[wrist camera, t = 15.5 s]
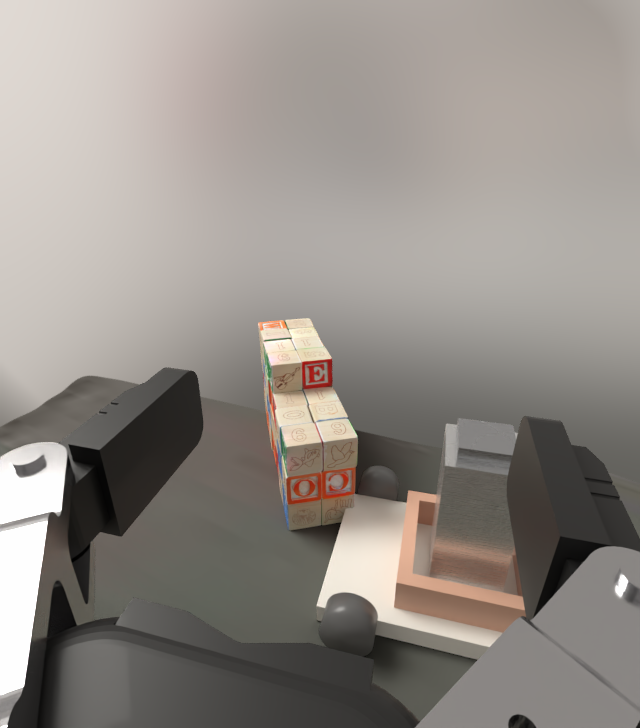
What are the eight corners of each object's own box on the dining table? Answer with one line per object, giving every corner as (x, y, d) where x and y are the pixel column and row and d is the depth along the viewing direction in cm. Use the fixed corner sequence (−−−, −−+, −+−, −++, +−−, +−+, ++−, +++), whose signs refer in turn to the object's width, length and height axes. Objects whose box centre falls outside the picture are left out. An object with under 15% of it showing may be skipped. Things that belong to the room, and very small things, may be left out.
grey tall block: (427, 587, 33) (446, 452, 28) (430, 536, 38) (447, 411, 33) (500, 603, 32) (533, 465, 27) (494, 548, 37) (522, 421, 31)
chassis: (308, 646, 31) (308, 606, 29) (353, 491, 45) (355, 458, 43) (643, 734, 26) (665, 692, 25) (577, 530, 40) (588, 494, 39)
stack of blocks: (356, 522, 41) (359, 405, 36) (287, 533, 40) (281, 415, 35) (311, 403, 60) (309, 315, 55) (264, 409, 59) (257, 320, 54)
